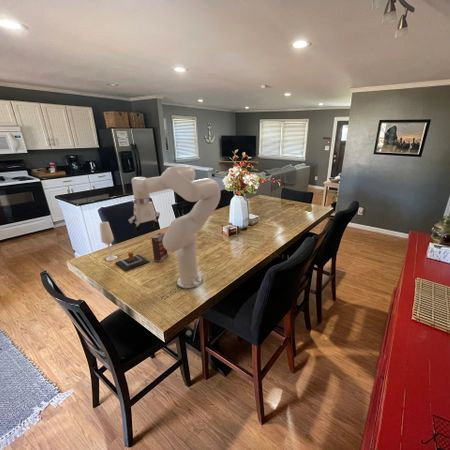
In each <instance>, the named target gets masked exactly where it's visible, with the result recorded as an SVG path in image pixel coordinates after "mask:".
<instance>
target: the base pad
mask: <svg viewBox="0 0 450 450" xmlns="http://www.w3.org/2000/svg"><path fill="white" fill-rule="evenodd" d="M133 257H135V258H137V259H138V260H139V261H136V262H133V263H130V264H127V263H126V262H125V260H126V259H129V257H126V258H123V259H121V260H118V261H115V264H116V265H117V266H119V267H120V268H121V269H122V270H124V271H125V272H127V271H130V270H132V269H135V268H137V267H140V266H143V265H145V264H148V263H149V260H147V259H146V258H145V257H143V256H141V255H140V254H134V255H133Z"/></svg>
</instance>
